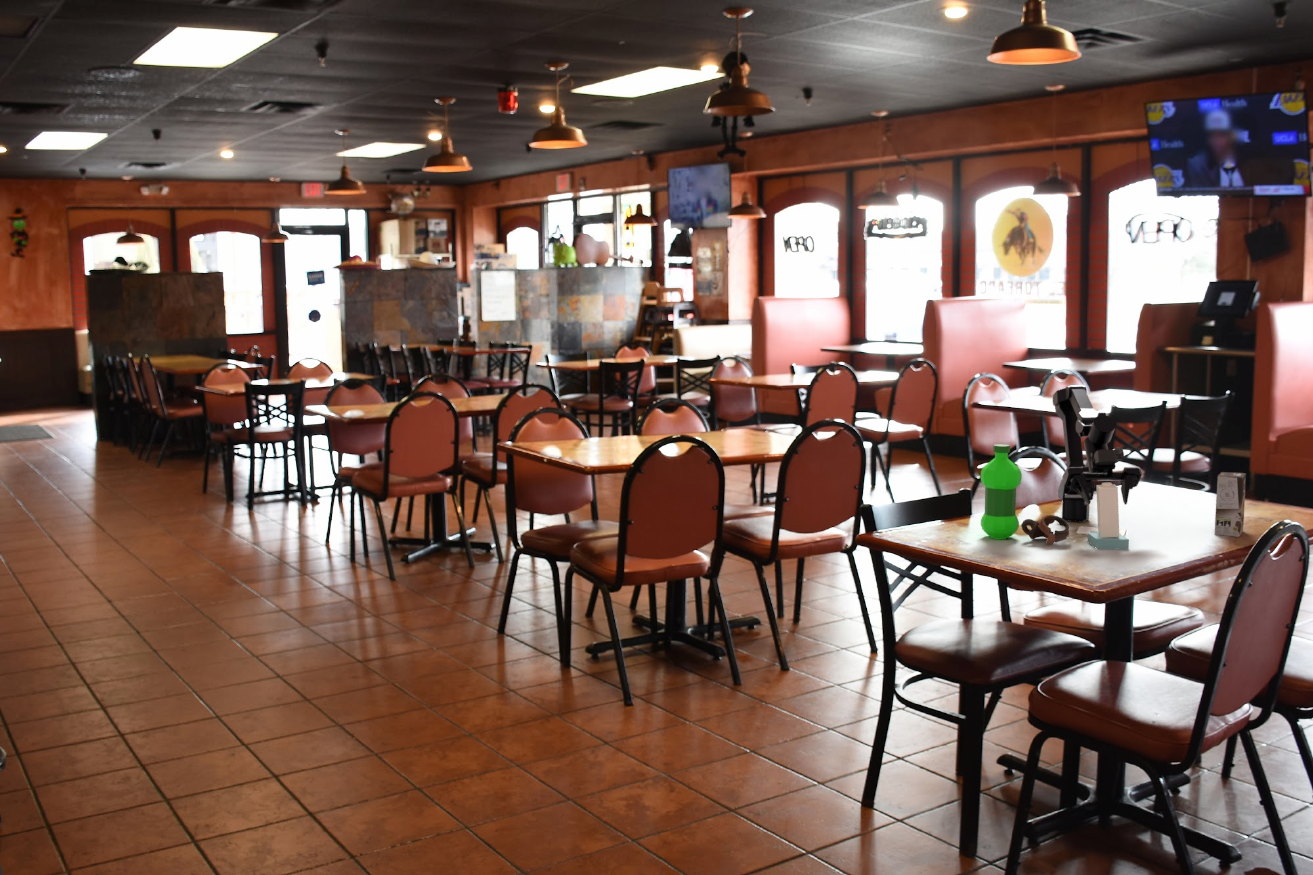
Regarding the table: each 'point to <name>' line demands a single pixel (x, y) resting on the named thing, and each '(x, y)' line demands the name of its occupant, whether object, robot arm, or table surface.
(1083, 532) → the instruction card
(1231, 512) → the coffee box
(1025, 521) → the brown curved loop piece
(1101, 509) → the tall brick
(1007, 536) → the plastic bottle
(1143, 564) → the table surface
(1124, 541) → the base brick
